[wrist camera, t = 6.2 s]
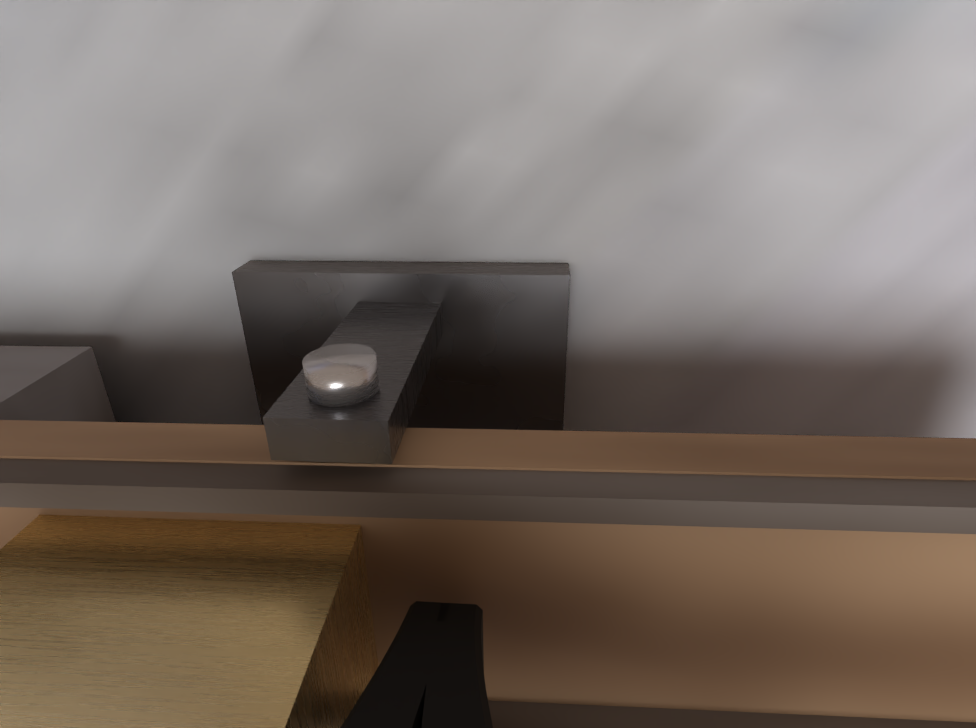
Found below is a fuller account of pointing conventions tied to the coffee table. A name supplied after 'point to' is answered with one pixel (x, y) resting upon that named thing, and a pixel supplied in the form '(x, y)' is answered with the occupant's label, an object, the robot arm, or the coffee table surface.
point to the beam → (584, 551)
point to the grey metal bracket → (401, 351)
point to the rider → (183, 624)
